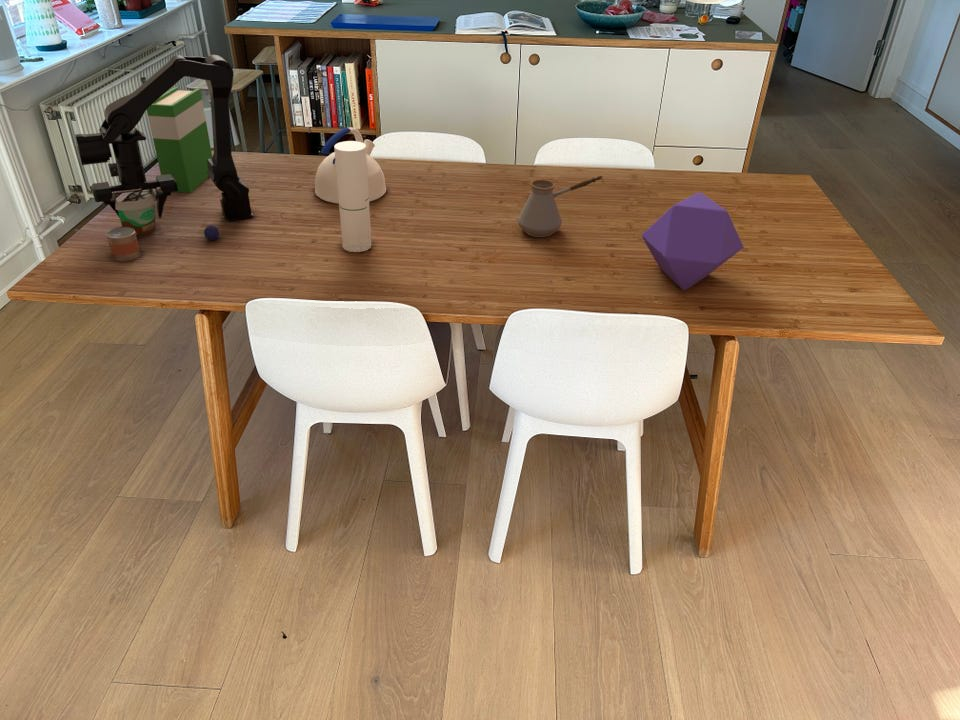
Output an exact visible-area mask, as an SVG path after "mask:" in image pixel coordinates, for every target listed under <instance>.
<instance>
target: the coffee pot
mask: <svg viewBox="0 0 960 720" xmlns="http://www.w3.org/2000/svg"><path fill="white" fill-rule="evenodd" d="M603 178H604V177H603V175H598V176H596V177H592V178H591V179H587V180H583V181H581V182H579V183H576V184H574V185H572V186H569V187H567V188H565V189H562V190H559V191H556V192H554V189H555V188H556V183H555V182H553V181H552V180H549V179H534V180H531V181H530V183H529V186H530V187H531V192H530V194H529V196H528V198H527V200H526V201H525V204H524V206H523V207H522V209H521V211H520V213H519V215H518V217H517V223H518V226H519V227H520V228H521V230H522V231H524V233H525V234H526V235H528V236H531V237H536V238H546V237H550V236H552V235H553V234H555V233H556V232H557V231H558V230H559V229H560V228H561V226H562V224H563V222H562V217H561V214H560V212H559V209H558V205H557V203H556V199H555V198H556V197H558V196H560V195H563V194H566V193H568V192H570V191H575V190H578V189H580V188H583V187H587V186H588V185H589V184H592V183H596V181H600V180H601V183H602V184H603V185H604V184H605V181H604V179H603ZM553 192H554V193H553Z"/></svg>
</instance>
